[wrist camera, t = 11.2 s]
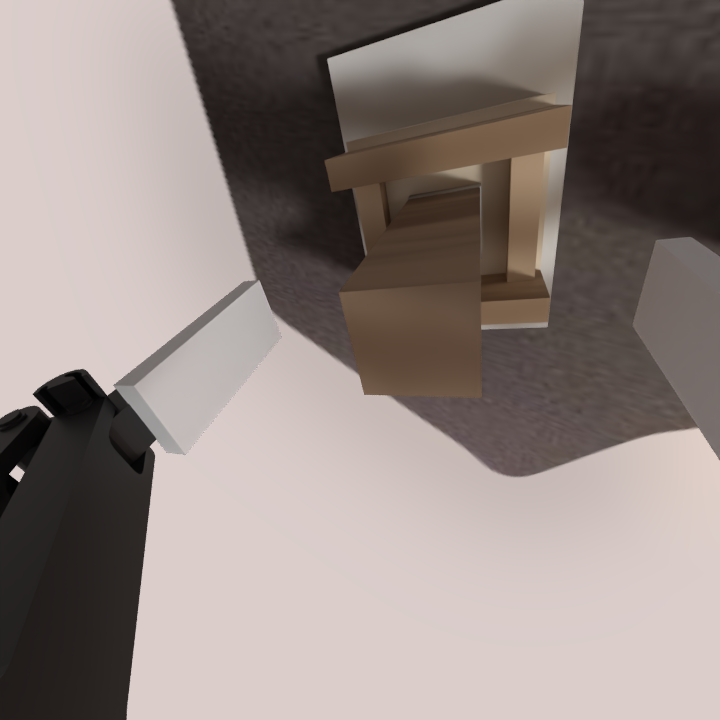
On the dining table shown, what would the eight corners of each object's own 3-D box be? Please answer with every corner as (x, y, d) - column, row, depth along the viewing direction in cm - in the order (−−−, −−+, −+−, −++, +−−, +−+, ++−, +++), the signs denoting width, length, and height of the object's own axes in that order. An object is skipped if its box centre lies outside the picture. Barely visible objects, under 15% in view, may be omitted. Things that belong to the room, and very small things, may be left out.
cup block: (332, 60, 22) (265, 40, 15) (582, -22, 18) (649, -106, 11) (382, 327, 33) (356, 387, 26) (545, 321, 28) (566, 391, 21)
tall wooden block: (410, 195, 21) (336, 290, 10) (481, 183, 20) (482, 279, 9) (417, 260, 23) (363, 395, 12) (481, 253, 22) (483, 399, 11)
